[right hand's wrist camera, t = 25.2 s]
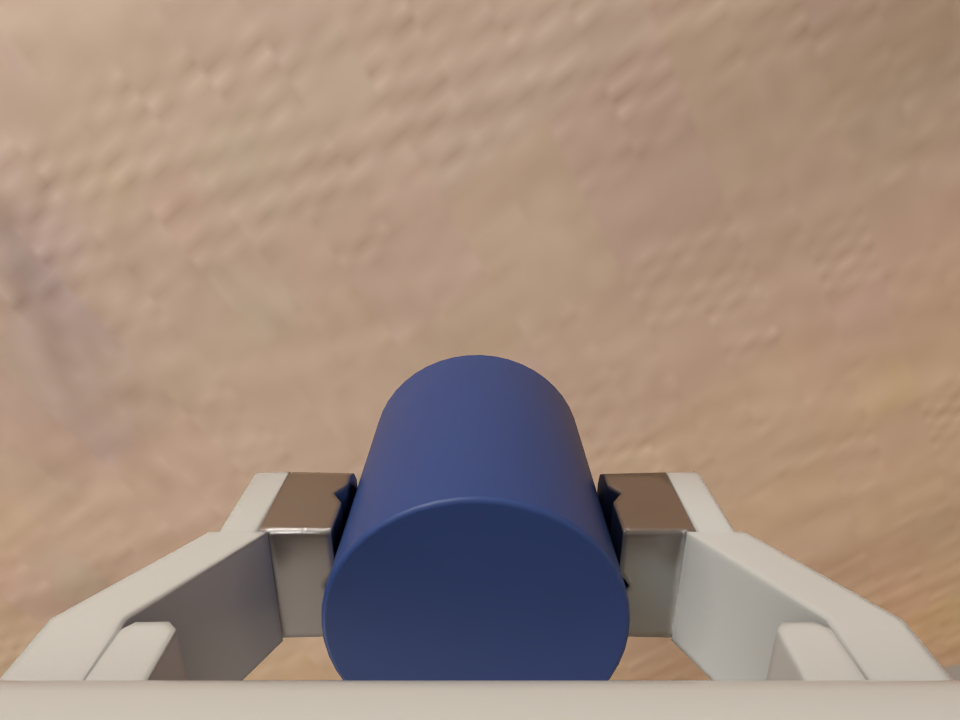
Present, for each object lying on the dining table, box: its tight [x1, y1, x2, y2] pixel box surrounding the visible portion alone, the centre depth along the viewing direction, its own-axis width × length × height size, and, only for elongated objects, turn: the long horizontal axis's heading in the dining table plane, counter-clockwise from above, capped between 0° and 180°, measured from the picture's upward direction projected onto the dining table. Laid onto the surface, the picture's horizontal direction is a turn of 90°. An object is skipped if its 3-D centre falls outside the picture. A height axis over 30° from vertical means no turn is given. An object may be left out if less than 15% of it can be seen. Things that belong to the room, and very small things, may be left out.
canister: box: [321, 355, 630, 680], centre depth 10 cm, size 4×4×5 cm
